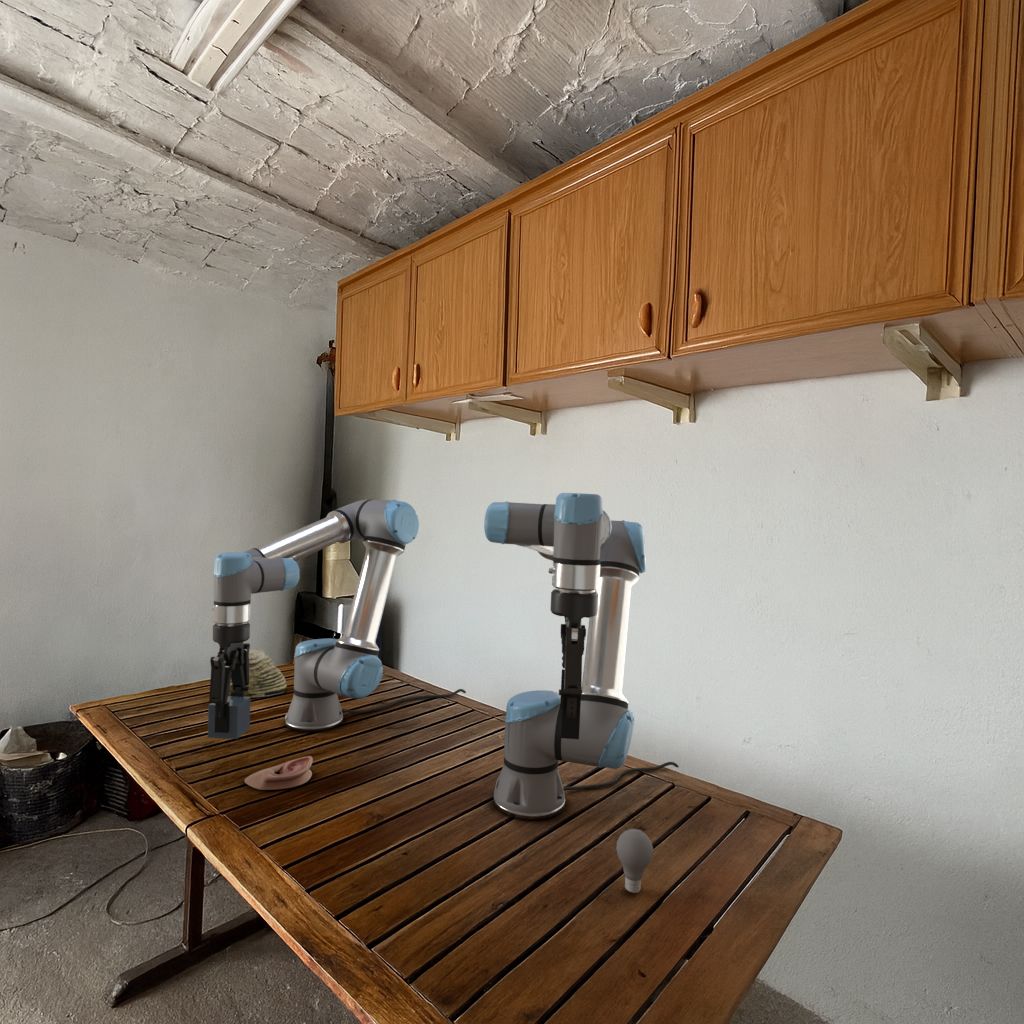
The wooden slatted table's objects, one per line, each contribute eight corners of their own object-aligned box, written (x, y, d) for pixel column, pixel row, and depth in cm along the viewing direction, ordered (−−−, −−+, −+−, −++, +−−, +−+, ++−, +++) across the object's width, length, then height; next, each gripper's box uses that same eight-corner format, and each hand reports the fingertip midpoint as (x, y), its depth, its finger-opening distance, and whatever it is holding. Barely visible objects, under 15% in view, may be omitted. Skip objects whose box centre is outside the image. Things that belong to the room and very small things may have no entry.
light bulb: (610, 879, 108) (613, 822, 108) (644, 879, 109) (647, 822, 109) (619, 902, 102) (622, 840, 102) (655, 901, 103) (658, 840, 103)
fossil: (218, 695, 195) (220, 647, 195) (278, 685, 208) (279, 640, 207) (228, 703, 189) (230, 653, 188) (289, 692, 201) (290, 645, 201)
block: (221, 727, 144) (222, 695, 143) (249, 728, 143) (250, 697, 143) (207, 737, 138) (208, 704, 137) (237, 739, 137) (237, 706, 137)
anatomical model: (236, 768, 136) (267, 748, 147) (235, 786, 136) (266, 765, 148) (292, 776, 134) (319, 755, 145) (291, 794, 134) (319, 772, 145)
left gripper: (235, 613, 149) (233, 710, 150) (191, 631, 130) (189, 742, 131) (266, 615, 149) (264, 712, 150) (227, 633, 130) (224, 744, 131)
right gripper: (551, 579, 114) (546, 696, 114) (550, 600, 89) (543, 750, 89) (593, 581, 113) (588, 699, 113) (604, 603, 88) (597, 754, 89)
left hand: (229, 725), depth 140 cm, fingers closed on block, 6 cm apart
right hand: (568, 722), depth 101 cm, fingers open, 13 cm apart
